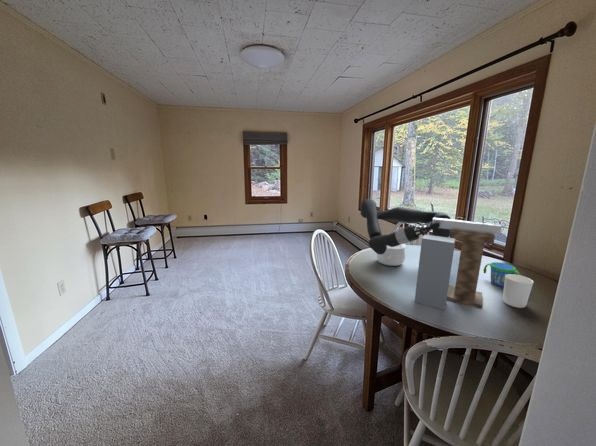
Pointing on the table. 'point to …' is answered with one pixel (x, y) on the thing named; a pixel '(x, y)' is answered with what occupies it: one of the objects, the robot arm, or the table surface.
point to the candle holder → (516, 290)
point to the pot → (393, 255)
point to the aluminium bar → (468, 226)
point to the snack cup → (500, 272)
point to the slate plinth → (434, 270)
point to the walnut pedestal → (468, 267)
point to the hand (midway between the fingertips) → (440, 222)
